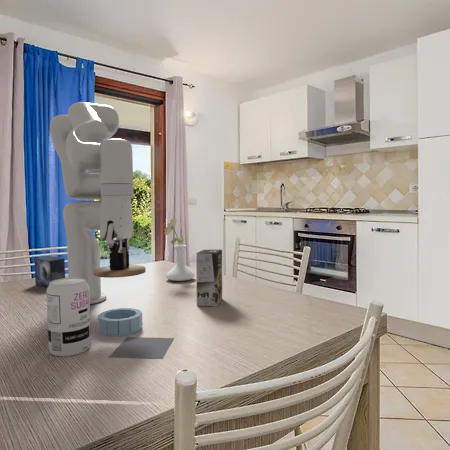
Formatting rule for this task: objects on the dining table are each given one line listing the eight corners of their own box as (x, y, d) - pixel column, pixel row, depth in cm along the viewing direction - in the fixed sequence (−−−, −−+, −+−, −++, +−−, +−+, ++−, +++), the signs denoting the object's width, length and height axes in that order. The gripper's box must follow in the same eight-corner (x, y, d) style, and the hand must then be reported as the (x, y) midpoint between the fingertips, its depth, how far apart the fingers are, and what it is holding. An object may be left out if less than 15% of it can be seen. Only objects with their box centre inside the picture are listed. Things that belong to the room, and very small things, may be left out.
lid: (84, 277, 85) (83, 251, 84) (105, 268, 97) (105, 245, 96) (136, 277, 84) (135, 250, 83) (151, 268, 96) (150, 245, 95)
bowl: (91, 337, 87) (91, 320, 87) (108, 322, 97) (108, 307, 97) (134, 338, 86) (133, 321, 86) (146, 323, 96) (146, 308, 96)
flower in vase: (179, 275, 157) (178, 216, 155) (200, 279, 150) (200, 217, 148) (156, 281, 146) (155, 217, 144) (178, 285, 139) (177, 218, 138)
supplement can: (57, 344, 83) (54, 277, 82) (95, 342, 83) (93, 276, 82) (42, 359, 75) (39, 285, 74) (84, 358, 75) (82, 284, 74)
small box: (34, 285, 141) (33, 257, 140) (50, 282, 146) (49, 255, 146) (50, 288, 135) (49, 260, 134) (66, 285, 140) (65, 257, 140)
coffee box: (216, 307, 111) (216, 253, 110) (196, 305, 112) (195, 252, 111) (223, 299, 120) (222, 249, 119) (203, 298, 121) (203, 248, 120)
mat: (108, 359, 75) (108, 357, 75) (127, 338, 86) (127, 337, 86) (162, 360, 74) (162, 358, 74) (174, 339, 85) (174, 338, 85)
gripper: (114, 193, 98) (117, 263, 98) (86, 191, 81) (90, 275, 82) (142, 193, 97) (144, 263, 98) (120, 190, 81) (123, 274, 82)
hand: (119, 267), depth 90 cm, fingers closed on lid, 3 cm apart
